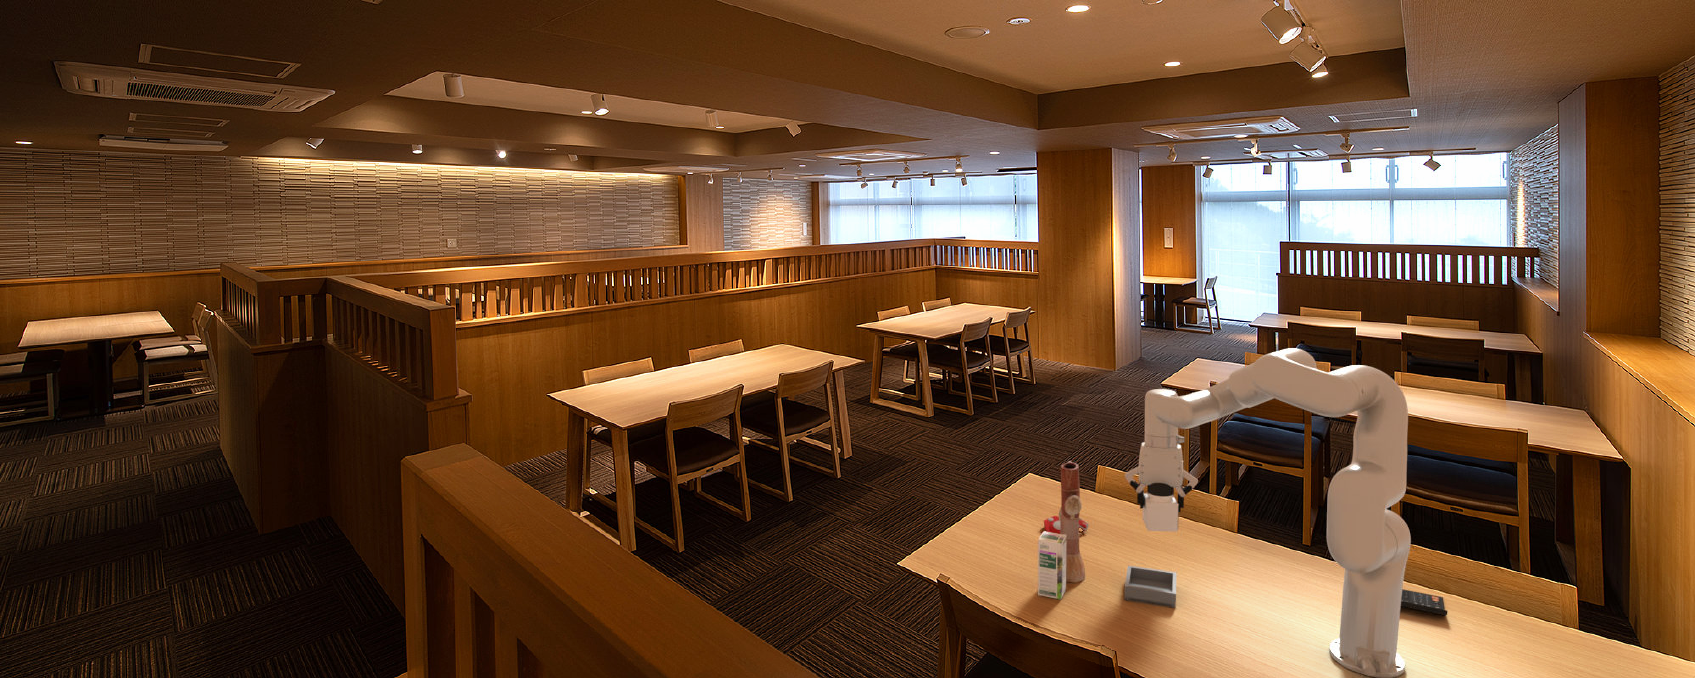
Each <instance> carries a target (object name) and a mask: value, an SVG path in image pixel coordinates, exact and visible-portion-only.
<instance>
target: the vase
mask: <svg viewBox="0 0 1695 678" xmlns="http://www.w3.org/2000/svg"><path fill="white" fill-rule="evenodd" d="M1059 469H1060V488H1061V489H1060V491H1061V492H1060V493H1061V499H1060V500H1061V503H1060V505H1061V506H1060V508H1059V512H1058V517H1059V521H1060V526H1061V528H1060V534H1065V535H1066V583H1079V582H1083V581H1084V580H1085V579H1086V571H1085V570H1086V569H1085V564H1084V561H1083V558H1082V554H1081V551H1080V532H1079V518H1080V513H1081V510H1082V501H1081V497H1080V496H1081V495H1080V494H1081V488H1080V486H1081V485H1080V470H1079V469H1080V467H1079V464H1078V463H1075V462H1072V461H1071V460H1069V461H1067V462H1065V463H1063V464H1061V465H1060V468H1059Z"/></svg>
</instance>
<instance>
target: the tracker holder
mask: <svg viewBox="0 0 1695 678" xmlns="http://www.w3.org/2000/svg"><path fill="white" fill-rule="evenodd" d="M1043 525H1044V527H1043V528H1044V529H1045V530H1046V532H1050V533H1057V534H1060V528H1061V526H1060V521H1059V515H1053V516H1050V517H1048V518H1047V519H1044V520H1043ZM1089 525H1090V523H1088V522H1086V520H1083V519H1082V518H1080V517H1079V528H1081V529H1082V530H1083V531H1084V532H1087V530H1088V529H1089ZM1045 530H1044V531H1045Z"/></svg>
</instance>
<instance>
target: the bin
mask: <svg viewBox="0 0 1695 678" xmlns="http://www.w3.org/2000/svg"><path fill="white" fill-rule="evenodd" d="M1124 583H1125V584H1124V601H1127V602H1128V601H1129V602H1135V603H1142V604H1148V605H1153V606H1161V607H1167V608H1174V609H1177V608H1176V607H1177V605H1176V603H1177V572H1176V571H1168V570H1164V569H1163V570H1162V569H1155V568H1147V567H1142V566H1141V567H1140V566H1134V565H1127V571H1126V576H1125V582H1124Z"/></svg>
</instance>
